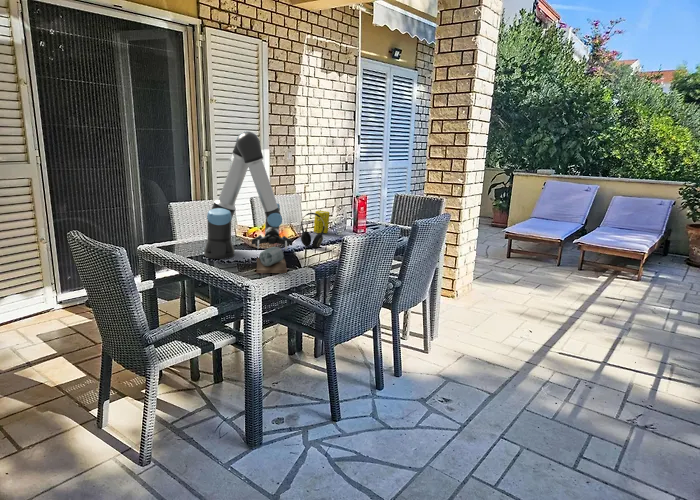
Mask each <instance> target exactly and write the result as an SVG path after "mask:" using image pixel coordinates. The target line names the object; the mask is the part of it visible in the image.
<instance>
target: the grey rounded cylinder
mask: <svg viewBox="0 0 700 500" xmlns="http://www.w3.org/2000/svg"><path fill="white" fill-rule="evenodd" d="M258 256H259V257H258V258H260V261H261V263H262V264H263V265H264V266H266V267H267V266H271V265H272V264H275V263H278V262H280V261H282V260H283V259H284V258H285V255H284V252H283V250H282V249H281V247H279V246H272V247H268V248H266V249H264V250H262V251H261V252H260V254H259V255H258Z"/></svg>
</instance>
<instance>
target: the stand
mask: <svg viewBox="0 0 700 500" xmlns="http://www.w3.org/2000/svg"><path fill="white" fill-rule="evenodd" d="M287 269H288V268H287V262H286V259H285V258H283V260H282V261H280V262H278V263H275V264H272V265H271V266H267V267H266V266H264V265H263V264H262V263H261V261H260V257H256V274H257V273H287V274H288V270H287Z"/></svg>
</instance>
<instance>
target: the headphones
mask: <svg viewBox="0 0 700 500" xmlns="http://www.w3.org/2000/svg"><path fill="white" fill-rule="evenodd" d="M308 215H314V216H315V215H316V216H318V217H319V218H321V217H320V216H319V215H318V214H316V213H315V212H308V213H306V214H305V215H303V217H302V219H301V221H300V228H301V235H300V241H301V243H302V244H303V246H306V247H309V246H310V245H312V247H313V248H315V249H316V248H319V247H320V246H321V244H322V243H323V239H324V236H323V234H324V233H323V232H324V227H325V226H324V225H323V230H322V232H321V233H316V235H315V236H314V238H313V239H312V236H311V233H310V232H309V231H307V230H305V229H304V226H303V225H304V224H303V220H304V218H305V217H306V216H308ZM321 220H322V218H321ZM322 221H323V220H322ZM323 224H324V221H323Z"/></svg>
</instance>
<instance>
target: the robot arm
mask: <svg viewBox="0 0 700 500" xmlns="http://www.w3.org/2000/svg"><path fill="white" fill-rule="evenodd" d="M232 155H233V159H232V162H231V165H230V168H229V169H228V173H227V175H226V178H225V181H224V183H223V186H222V188H221V191H220V194H219V196H218V199H217V200H214V201H213V204H212V207H211V209H209V210H208V211H207V215H206V219H207V240H206V244H205V247H204V250H203V256H205V258H208V259H213V260H214V259H215V260H224V259H225V258H226V259H230V257H231V258H233V257H235V253H236V252H235V249H234V245H233V242H232V221H233V220H232V219H233V217H234V215H235V212H236V207H235V203H236V201H237V199H238V196H239V193H240V191H241V187H242V185H243V182H244V180H245V178H246V175H247V172H248V170H249V173H250V175H251V177H252V181H253V184H254V187H255V189H256V192H257V194H258V198H259V201H260V203H261V205H262V208H263V212H264V215H265V227H264V236H262V235H258V236H256V237H254V238H252V239H251V245H255V247H257V249H258V250H259V249H260V245H261V244H262V245H263V244H270V245H274V244H281V245H284V247H285V250H286V251H287V250H288V247H291V246H293V240H292V239H291V238H288V237H287V236H285V235H283V236H282V237H281V236H280V226H281V225H282V224H283V216H282V214H281V212H280V211H281V206H280V205H281V204H279V203H277V199H276V198H275V194H274V190H273V188H272V185H271V182H270V179H269V176H268V174H267V170H266V167H265V163H264V161H263V160H264V155H263V151H262V147H261V140H260V139H259V137H258V136H257V134H255V133H254V132H252V131H244V132H243V131H242V132H241V133H240V134H239V135H238V136H237V138H236V142H235V144H234V148H233V150H232ZM226 259H225V260H226Z"/></svg>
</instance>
